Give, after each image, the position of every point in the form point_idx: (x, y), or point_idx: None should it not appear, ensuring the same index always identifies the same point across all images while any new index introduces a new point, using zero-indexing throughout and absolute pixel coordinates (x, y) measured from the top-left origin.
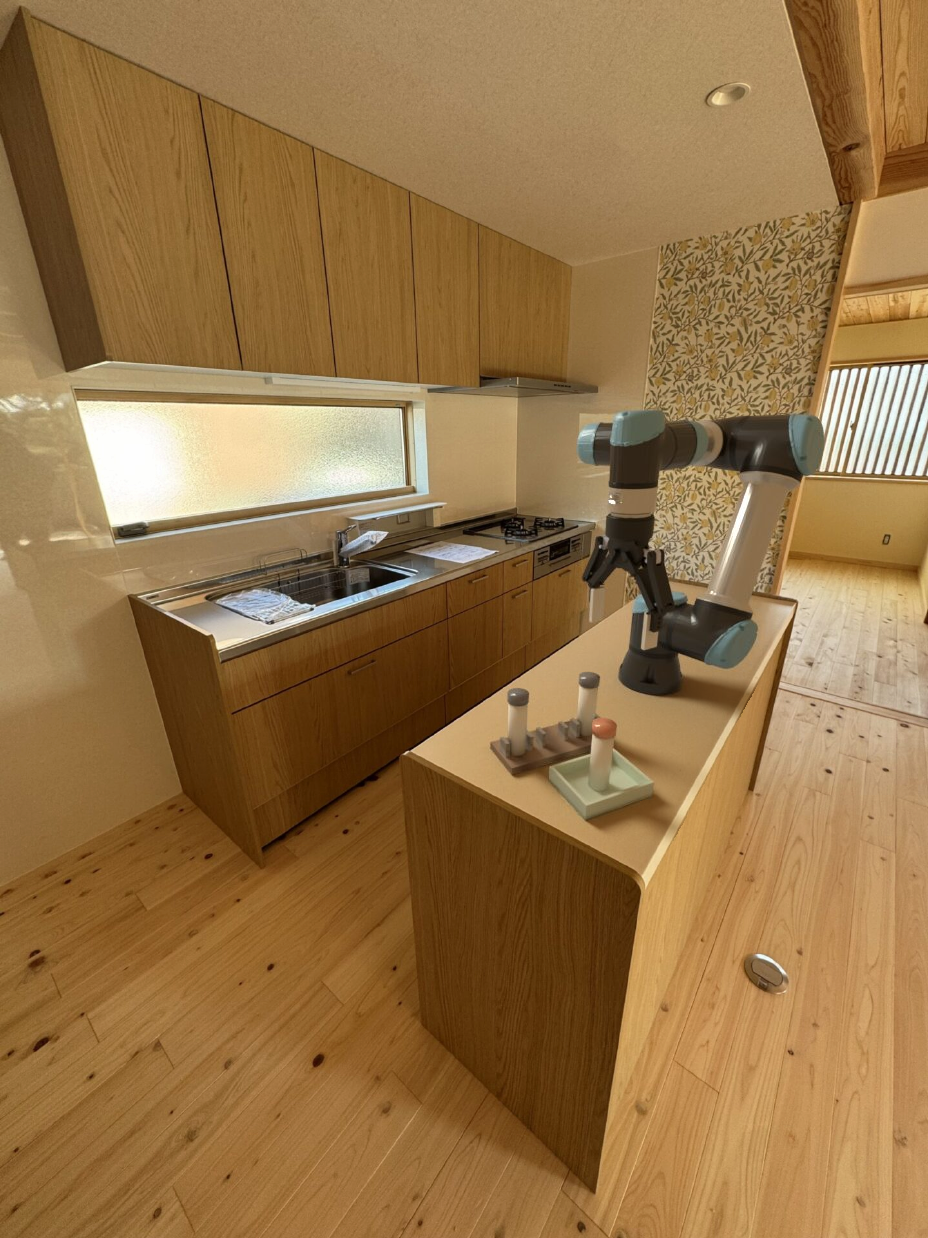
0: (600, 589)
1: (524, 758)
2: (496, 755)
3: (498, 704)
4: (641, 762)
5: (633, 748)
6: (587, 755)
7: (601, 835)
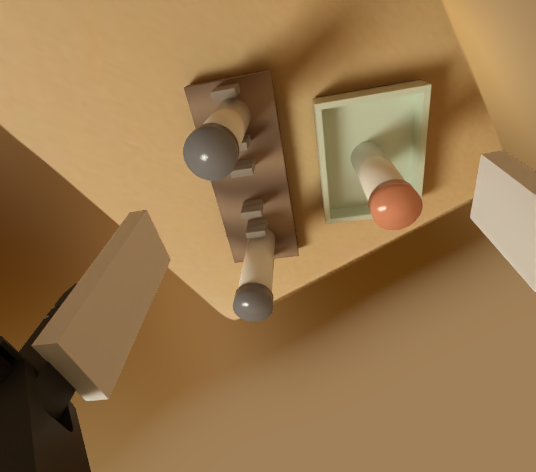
0: (83, 360)
1: (283, 235)
2: None
3: (114, 211)
4: (334, 37)
5: (290, 26)
6: (321, 160)
7: (441, 191)
